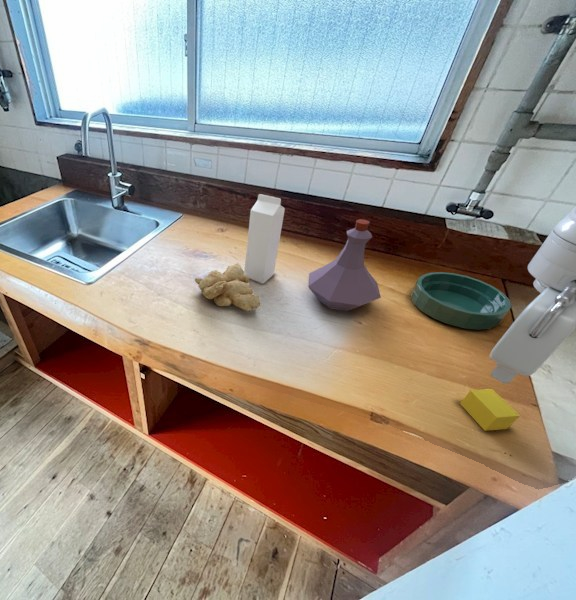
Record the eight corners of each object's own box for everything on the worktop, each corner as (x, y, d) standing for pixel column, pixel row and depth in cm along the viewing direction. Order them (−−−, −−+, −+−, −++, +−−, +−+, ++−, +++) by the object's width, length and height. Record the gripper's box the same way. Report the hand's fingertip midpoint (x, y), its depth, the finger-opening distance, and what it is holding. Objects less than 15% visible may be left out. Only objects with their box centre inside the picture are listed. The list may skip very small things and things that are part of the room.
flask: (384, 296, 78) (418, 218, 67) (362, 331, 69) (397, 247, 57) (318, 274, 88) (337, 202, 76) (290, 302, 78) (307, 224, 66)
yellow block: (507, 429, 50) (520, 415, 48) (484, 430, 50) (497, 417, 48) (480, 401, 54) (491, 388, 52) (459, 403, 54) (470, 390, 52)
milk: (262, 284, 85) (274, 202, 72) (243, 276, 88) (251, 197, 75) (274, 274, 88) (287, 195, 75) (254, 267, 92) (264, 190, 78)
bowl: (520, 328, 68) (533, 312, 65) (443, 334, 67) (453, 317, 64) (459, 285, 81) (468, 270, 78) (395, 289, 80) (401, 274, 78)
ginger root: (196, 273, 88) (203, 249, 82) (252, 289, 87) (263, 265, 82) (186, 310, 76) (194, 284, 70) (251, 328, 75) (264, 303, 70)
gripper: (613, 321, 26) (514, 420, 34) (663, 250, 35) (575, 343, 43) (515, 287, 31) (448, 381, 39) (581, 231, 39) (515, 319, 47)
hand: (515, 361), depth 41 cm, fingers open, 8 cm apart
